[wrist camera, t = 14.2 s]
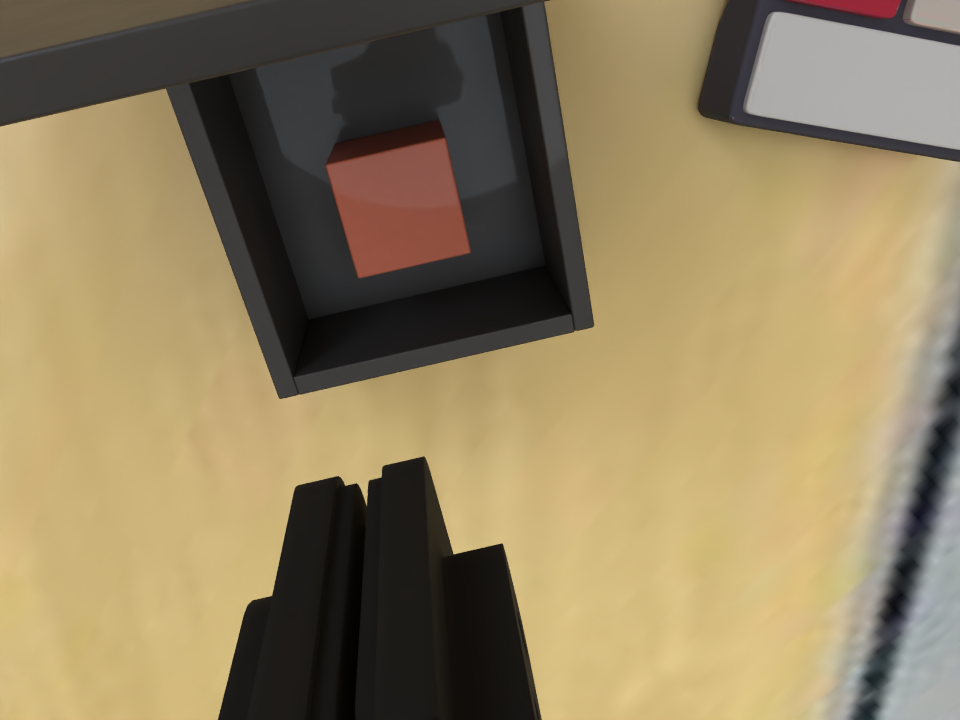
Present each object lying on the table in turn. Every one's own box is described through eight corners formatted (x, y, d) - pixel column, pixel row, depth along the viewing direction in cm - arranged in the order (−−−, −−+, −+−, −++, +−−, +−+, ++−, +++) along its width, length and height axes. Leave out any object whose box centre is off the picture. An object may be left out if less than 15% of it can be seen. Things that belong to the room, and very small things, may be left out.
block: (333, 143, 32) (324, 164, 28) (439, 119, 32) (445, 137, 28) (363, 245, 34) (357, 279, 30) (462, 223, 34) (471, 253, 30)
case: (562, 272, 36) (595, 327, 30) (299, 332, 36) (278, 400, 30) (497, -109, 30) (523, -136, 24) (175, -35, 30) (117, -42, 24)
